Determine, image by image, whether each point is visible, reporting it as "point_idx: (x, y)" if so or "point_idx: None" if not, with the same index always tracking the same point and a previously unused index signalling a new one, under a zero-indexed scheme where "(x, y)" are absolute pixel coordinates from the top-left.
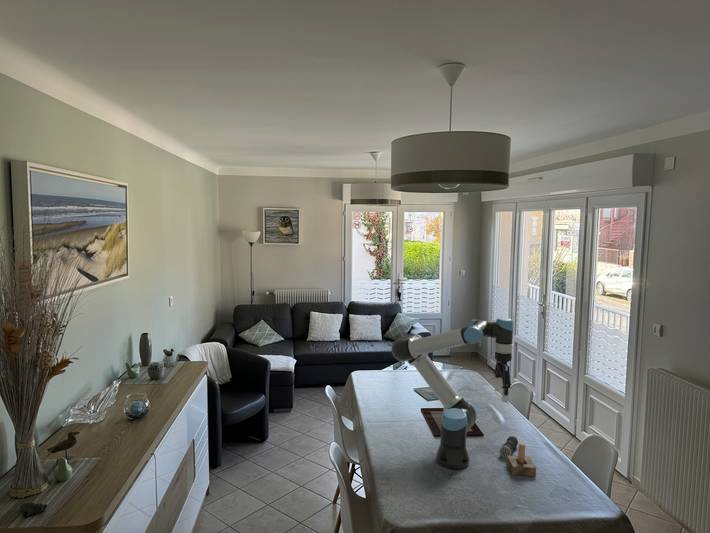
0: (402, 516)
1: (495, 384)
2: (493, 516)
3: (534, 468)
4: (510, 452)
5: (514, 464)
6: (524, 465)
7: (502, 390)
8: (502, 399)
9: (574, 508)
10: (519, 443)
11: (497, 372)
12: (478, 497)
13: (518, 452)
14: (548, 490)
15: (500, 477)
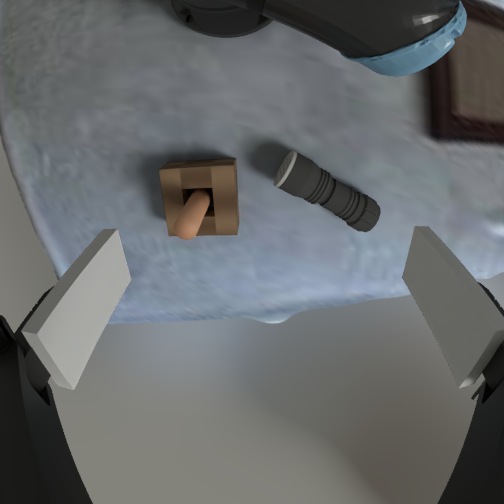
0: None
1: (450, 271)
2: (8, 106)
3: (168, 230)
4: (275, 184)
5: (173, 176)
6: (174, 206)
7: (46, 303)
8: (93, 243)
9: None
10: (192, 221)
11: (491, 454)
12: (53, 69)
13: (190, 204)
14: None
15: (148, 125)
